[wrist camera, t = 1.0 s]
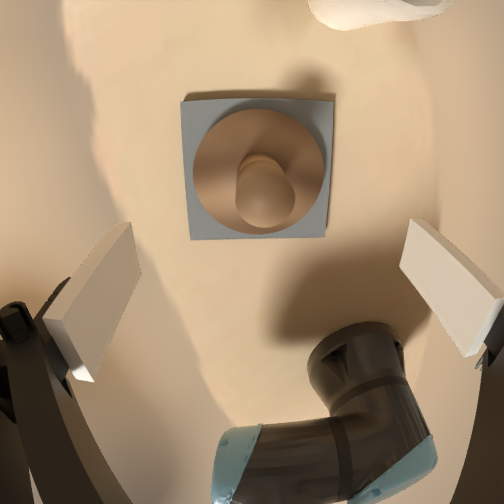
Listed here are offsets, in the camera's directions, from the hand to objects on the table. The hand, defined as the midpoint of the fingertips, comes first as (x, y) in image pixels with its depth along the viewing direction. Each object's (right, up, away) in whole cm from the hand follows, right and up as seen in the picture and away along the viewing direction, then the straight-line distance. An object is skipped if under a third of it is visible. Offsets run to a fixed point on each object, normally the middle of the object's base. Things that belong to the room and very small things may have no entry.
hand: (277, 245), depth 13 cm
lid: (0, +7, +14) cm, 16 cm away
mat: (-1, +8, +15) cm, 17 cm away
